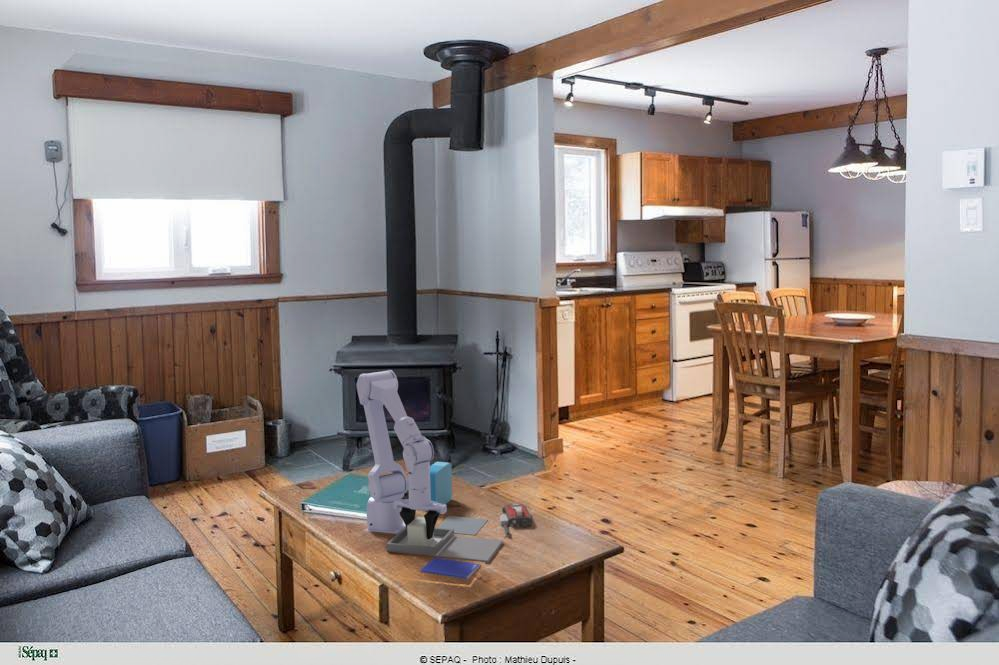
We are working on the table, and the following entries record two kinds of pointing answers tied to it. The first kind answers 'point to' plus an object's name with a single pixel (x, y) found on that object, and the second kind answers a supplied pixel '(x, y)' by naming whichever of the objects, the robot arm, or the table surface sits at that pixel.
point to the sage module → (418, 532)
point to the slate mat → (463, 525)
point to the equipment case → (447, 546)
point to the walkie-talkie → (515, 517)
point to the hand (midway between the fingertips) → (420, 536)
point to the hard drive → (450, 568)
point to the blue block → (441, 482)
